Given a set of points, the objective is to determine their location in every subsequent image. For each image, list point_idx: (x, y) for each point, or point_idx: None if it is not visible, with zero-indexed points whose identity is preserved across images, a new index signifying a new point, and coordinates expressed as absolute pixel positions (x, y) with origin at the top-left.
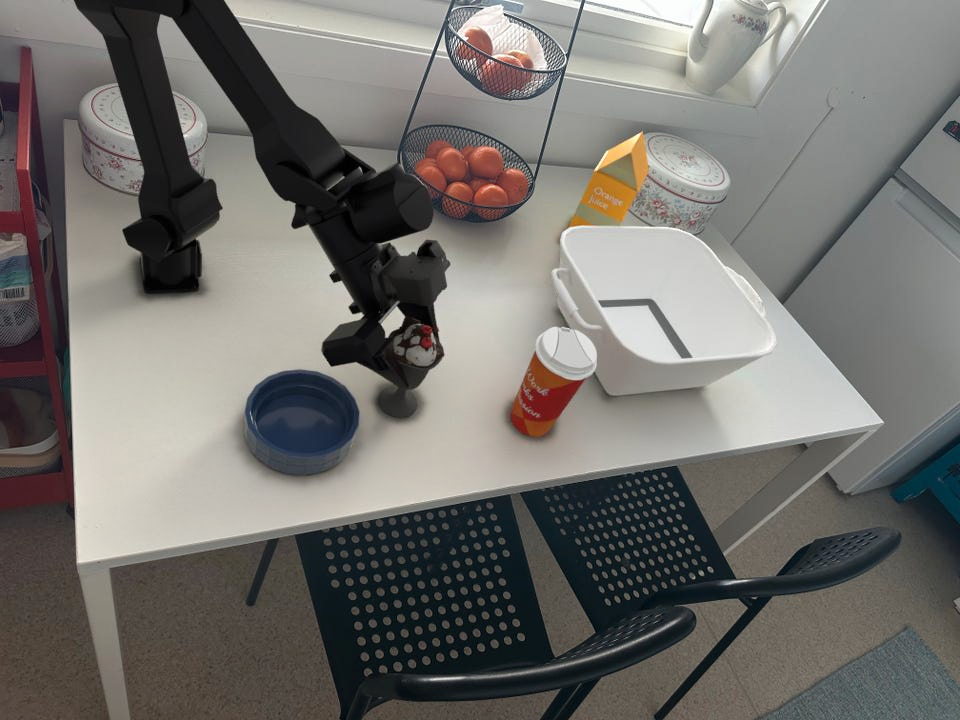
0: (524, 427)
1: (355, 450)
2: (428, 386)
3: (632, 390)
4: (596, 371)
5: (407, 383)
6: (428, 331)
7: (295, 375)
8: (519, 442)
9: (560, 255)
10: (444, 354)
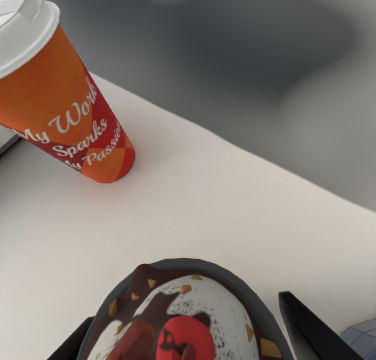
0: (131, 150)
1: (347, 312)
2: None
3: None
4: (6, 135)
5: (291, 300)
6: None
7: None
8: (149, 151)
9: None
10: (139, 265)
